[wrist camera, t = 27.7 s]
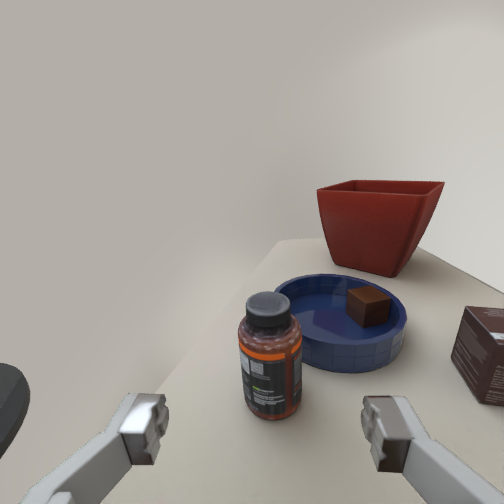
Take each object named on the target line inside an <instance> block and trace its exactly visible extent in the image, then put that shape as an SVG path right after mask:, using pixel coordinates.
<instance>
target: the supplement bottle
mask: <svg viewBox="0 0 504 504" xmlns="http://www.w3.org/2000/svg"><path fill="white" fill-rule="evenodd" d="M238 339H239V349H240V359H241V368H242V379H243V390H244V396H245V401H246V403H247V405H248V407H249V408H250V410H251V411H252V412H253V413H255V414H256V415H257V416H259V417H261V418H264V419H269V420H279V419H283V418H285V417H287V416H289V415H291V414H292V413H293V412H294V411H295V410H296V409H297V407H298V405H299V403H300V400H301V391H302V332H301V326H300V324H299V322H298V320H297V319H296V318H295V317H294V316H293V315H292V314H291V309H290V301H289V299H288V298H287V297H286V296H285V295H283V294H281V293H277V292H260V293H257V294H255V295H253V296H251V297H250V298H249V299H248V300H247V302H246V316H245V317H244V318H243V319H242V321H241V322H240V325H239V328H238Z"/></svg>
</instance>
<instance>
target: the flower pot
mask: <svg viewBox="0 0 504 504" xmlns="http://www.w3.org/2000/svg"><path fill="white" fill-rule="evenodd" d="M444 183H445V182H433V181H432V182H431V181H429V182H428V181H386V180H351V181H347V182H344V183H339V184H336V185H332V186H328V187H325V188H321V189H317V198H318V205H319V212H320V217H321V222H322V227H323V231H324V234H325V238H326V242H327V245H328V248H329V251H330V254H331V257H332V259H333V262H334V263H335V264H338V265H342V266H346V267H350V268H354V269H358V270H362V271H366V272H370V273H374V274H378V275H383V276H387V277H395V276H397V274H398V273H399V272H400V270H401V269H402V268H403V267H404V265H405V264H406V263H407V261H408V260H409V259H410V257H411V256H412V254H413V252H414V251H415V249H416V247H417V245H418V244H419V241H420V240H421V238H422V236H423V234H424V232H425V230H426V228H427V226H428V224H429V222H430V219H431V217H432V215H433V212H434V210H435V208H436V205H437V203H438V200H439V197H440V195H441V192H442V189H443V187H444Z"/></svg>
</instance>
